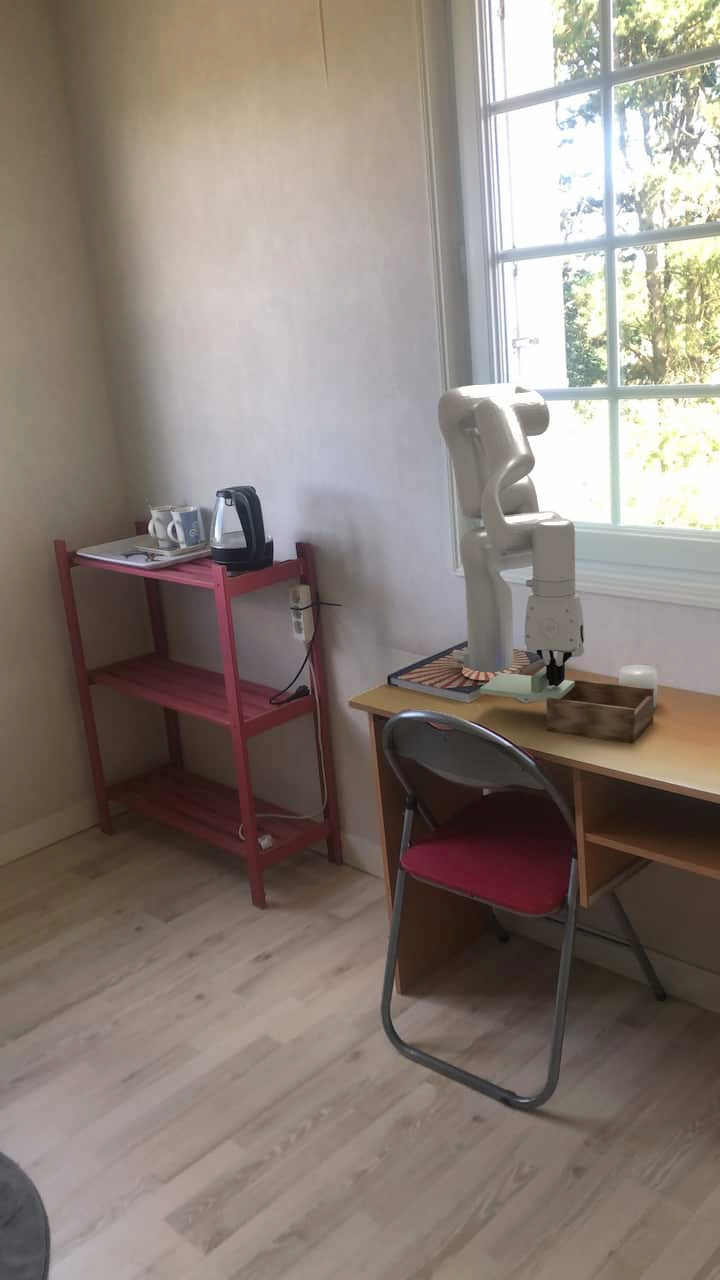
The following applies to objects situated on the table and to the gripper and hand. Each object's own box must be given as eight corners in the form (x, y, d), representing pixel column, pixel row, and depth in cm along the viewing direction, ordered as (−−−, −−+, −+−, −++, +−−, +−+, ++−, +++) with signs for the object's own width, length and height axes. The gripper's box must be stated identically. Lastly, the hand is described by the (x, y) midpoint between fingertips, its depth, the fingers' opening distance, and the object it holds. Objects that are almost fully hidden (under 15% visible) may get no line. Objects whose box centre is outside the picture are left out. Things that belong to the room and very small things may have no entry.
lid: (479, 693, 205) (479, 674, 204) (501, 677, 213) (500, 658, 212) (555, 703, 197) (555, 683, 196) (574, 686, 205) (574, 666, 204)
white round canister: (614, 708, 208) (614, 673, 206) (625, 697, 213) (625, 663, 211) (650, 713, 204) (651, 677, 202) (661, 701, 210) (661, 666, 208)
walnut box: (546, 730, 199) (546, 698, 197) (569, 709, 208) (569, 678, 207) (633, 743, 191) (633, 709, 189) (653, 720, 200) (653, 688, 199)
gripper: (507, 589, 197) (510, 686, 202) (587, 594, 190) (588, 694, 195) (523, 580, 204) (525, 674, 209) (601, 585, 196) (601, 682, 201)
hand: (555, 683), depth 202 cm, fingers closed
